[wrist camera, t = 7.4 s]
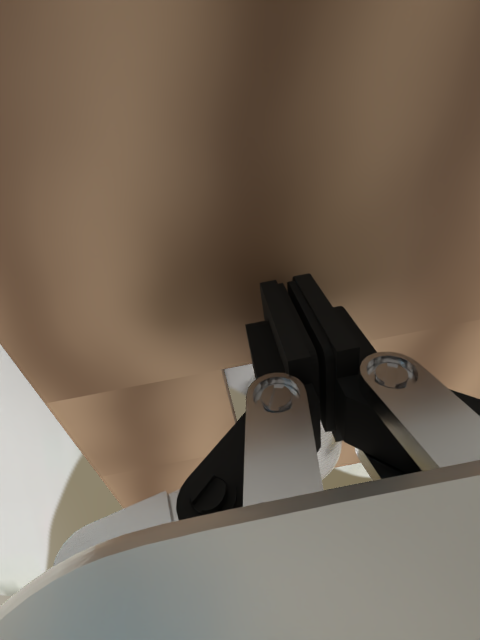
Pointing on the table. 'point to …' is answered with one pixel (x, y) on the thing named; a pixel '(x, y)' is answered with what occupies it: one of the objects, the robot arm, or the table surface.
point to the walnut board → (227, 202)
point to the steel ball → (328, 452)
